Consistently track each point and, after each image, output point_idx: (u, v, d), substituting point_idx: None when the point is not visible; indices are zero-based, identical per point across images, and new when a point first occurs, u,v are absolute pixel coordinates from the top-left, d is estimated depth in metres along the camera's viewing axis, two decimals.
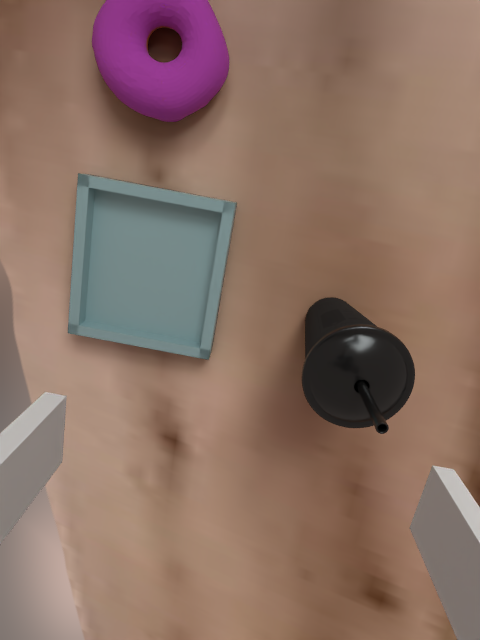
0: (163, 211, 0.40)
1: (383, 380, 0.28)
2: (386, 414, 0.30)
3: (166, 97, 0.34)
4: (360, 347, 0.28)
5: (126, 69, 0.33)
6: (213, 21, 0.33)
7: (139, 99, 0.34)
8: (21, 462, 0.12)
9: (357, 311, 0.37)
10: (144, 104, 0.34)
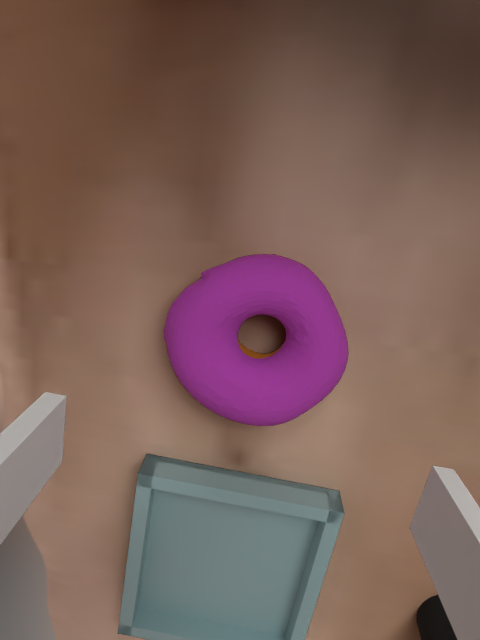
0: None
1: None
2: None
3: (267, 417, 0.25)
4: None
5: (213, 383, 0.24)
6: (335, 322, 0.24)
7: (229, 416, 0.25)
8: (21, 462, 0.12)
9: None
10: (235, 419, 0.25)
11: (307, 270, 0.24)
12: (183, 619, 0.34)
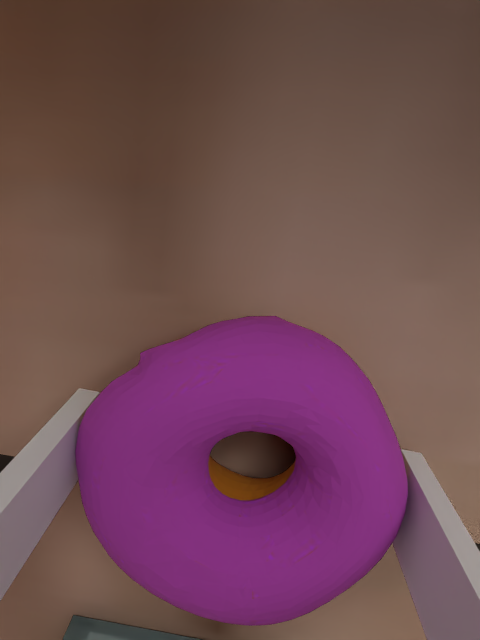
0: None
1: None
2: None
3: (262, 619, 0.13)
4: None
5: (161, 562, 0.13)
6: (390, 450, 0.13)
7: None
8: (63, 454, 0.13)
9: None
10: (204, 616, 0.14)
11: (337, 352, 0.13)
12: None
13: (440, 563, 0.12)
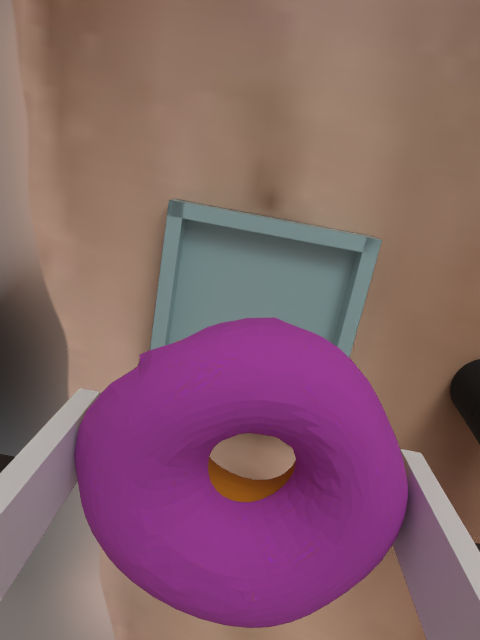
0: (275, 248, 0.30)
1: None
2: None
3: (262, 621, 0.13)
4: None
5: (161, 564, 0.13)
6: (390, 452, 0.13)
7: (192, 615, 0.14)
8: (63, 454, 0.13)
9: None
10: (204, 619, 0.14)
11: (336, 353, 0.13)
12: None
13: (440, 563, 0.12)
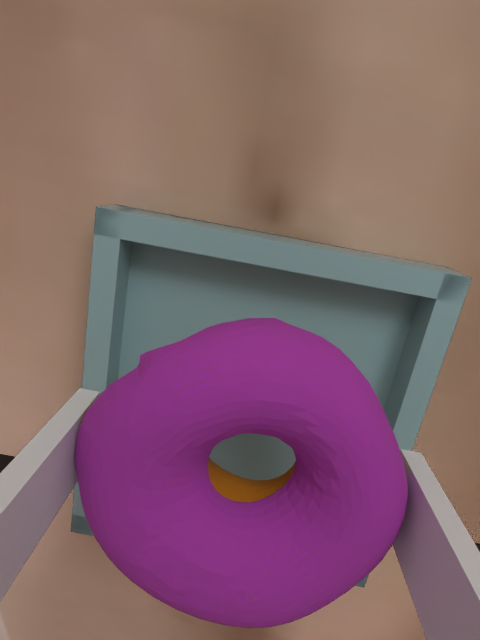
0: (283, 287, 0.18)
1: None
2: None
3: (262, 621, 0.13)
4: None
5: (160, 564, 0.13)
6: (390, 452, 0.13)
7: (192, 615, 0.14)
8: (63, 454, 0.13)
9: None
10: (204, 619, 0.14)
11: (336, 354, 0.13)
12: None
13: (440, 563, 0.12)
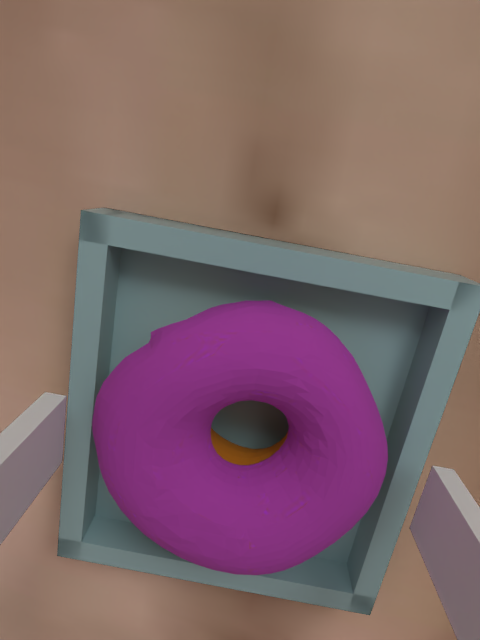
0: (284, 296, 0.17)
1: None
2: None
3: (258, 567, 0.15)
4: None
5: (169, 516, 0.15)
6: (371, 417, 0.14)
7: (196, 563, 0.15)
8: (21, 462, 0.12)
9: None
10: (207, 567, 0.16)
11: (324, 330, 0.14)
12: None
13: None
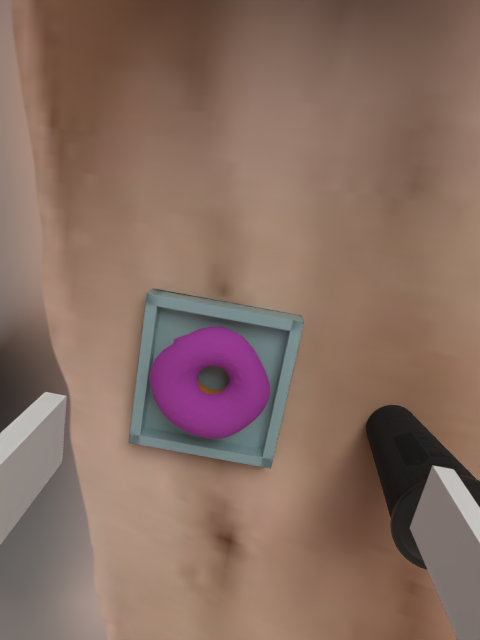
0: (228, 325, 0.40)
1: None
2: None
3: (216, 432, 0.38)
4: None
5: (181, 411, 0.38)
6: (258, 371, 0.38)
7: (192, 432, 0.38)
8: (21, 462, 0.12)
9: (428, 431, 0.37)
10: (196, 434, 0.39)
11: (240, 338, 0.38)
12: (181, 435, 0.43)
13: None
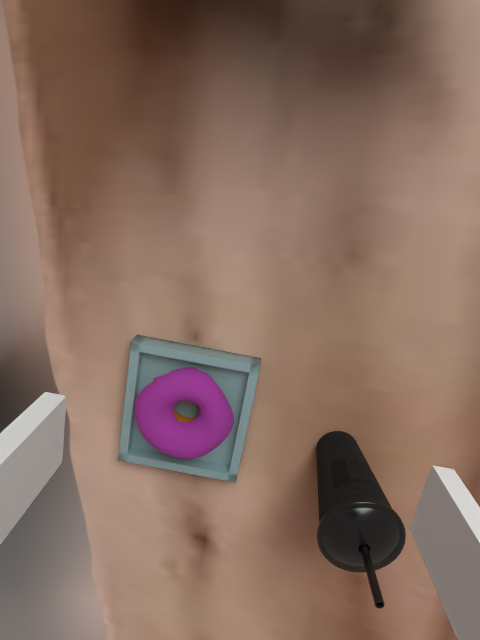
0: (199, 365, 0.48)
1: (381, 544, 0.37)
2: (383, 563, 0.38)
3: (188, 454, 0.47)
4: (363, 519, 0.37)
5: (159, 437, 0.46)
6: (222, 405, 0.46)
7: (168, 454, 0.47)
8: (21, 462, 0.12)
9: (360, 457, 0.45)
10: (172, 456, 0.47)
11: (208, 378, 0.46)
12: (161, 453, 0.51)
13: None
